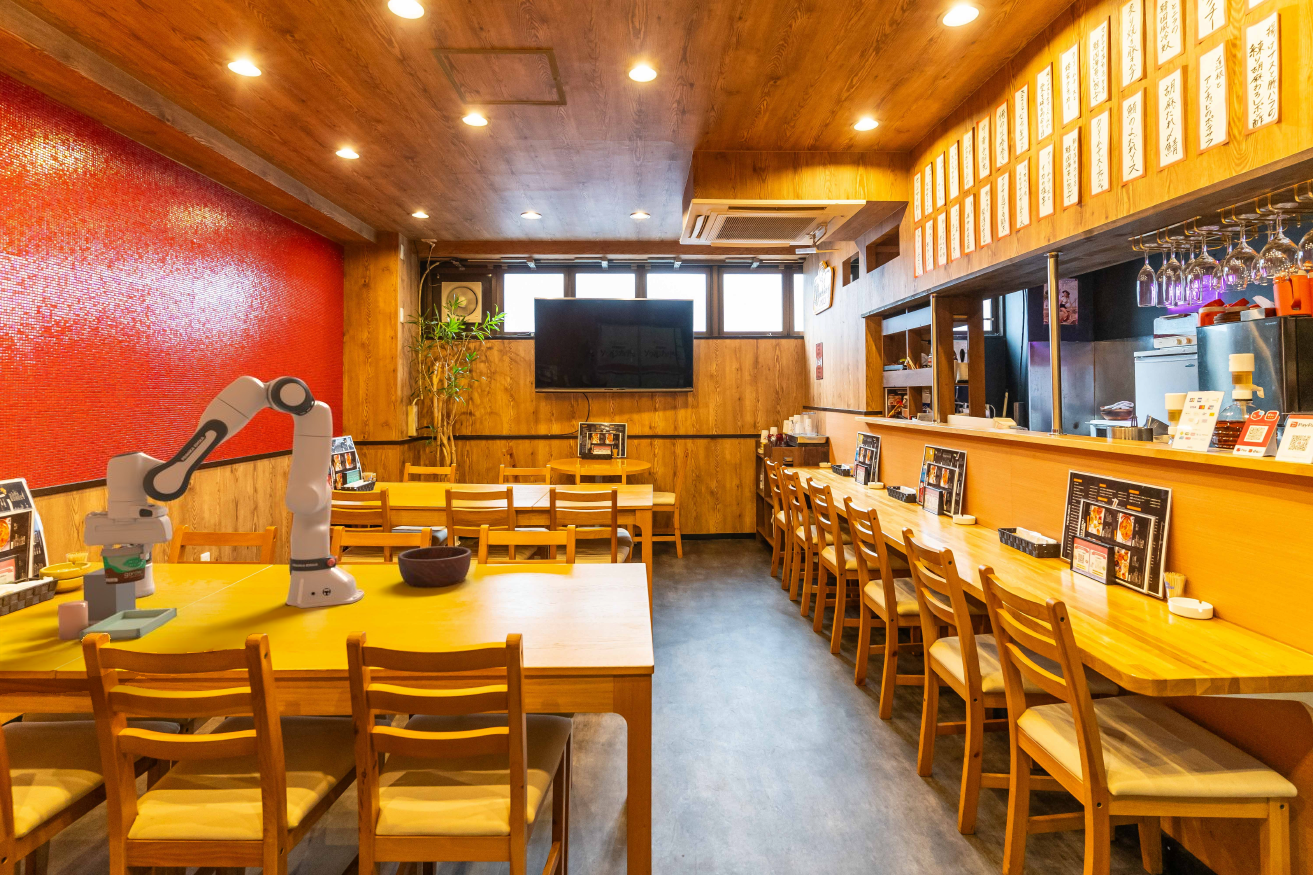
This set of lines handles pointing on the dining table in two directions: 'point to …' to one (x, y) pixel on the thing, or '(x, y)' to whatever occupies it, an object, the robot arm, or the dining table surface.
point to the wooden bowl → (434, 566)
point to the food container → (123, 564)
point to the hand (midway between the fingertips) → (129, 559)
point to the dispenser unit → (106, 597)
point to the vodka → (146, 584)
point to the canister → (72, 619)
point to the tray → (131, 623)
